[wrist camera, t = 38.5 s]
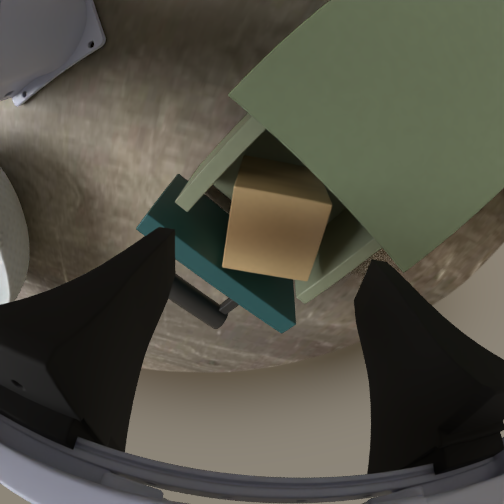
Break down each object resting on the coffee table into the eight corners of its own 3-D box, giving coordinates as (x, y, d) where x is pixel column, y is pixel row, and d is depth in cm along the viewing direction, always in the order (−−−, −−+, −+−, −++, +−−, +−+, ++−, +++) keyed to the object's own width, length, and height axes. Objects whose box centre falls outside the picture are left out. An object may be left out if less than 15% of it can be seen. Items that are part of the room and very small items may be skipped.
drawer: (241, 305, 25) (234, 362, 20) (135, 228, 22) (102, 276, 17) (414, 165, 18) (456, 203, 13) (304, 41, 14) (320, 29, 9)
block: (300, 232, 20) (307, 282, 16) (232, 220, 20) (221, 268, 15) (318, 169, 17) (333, 205, 13) (243, 154, 17) (233, 185, 13)
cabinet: (367, 207, 20) (403, 273, 14) (244, 85, 17) (227, 95, 10) (492, 96, 15) (564, 122, 8) (392, -38, 11) (447, -74, 4)
